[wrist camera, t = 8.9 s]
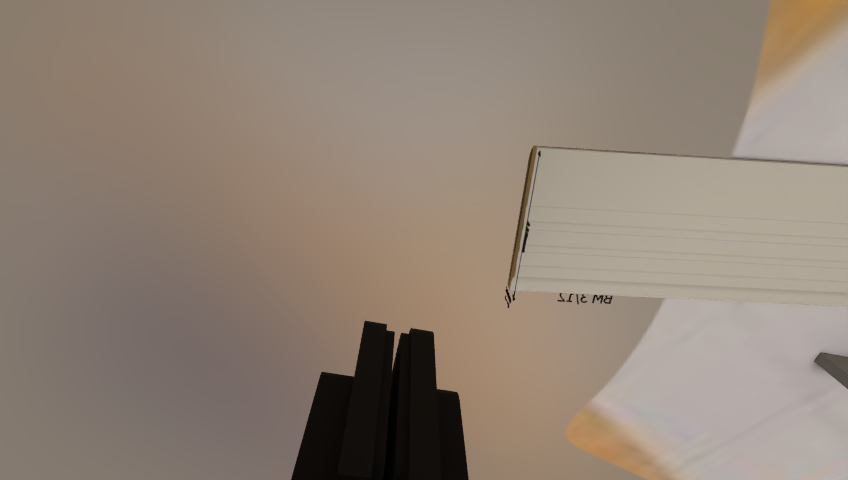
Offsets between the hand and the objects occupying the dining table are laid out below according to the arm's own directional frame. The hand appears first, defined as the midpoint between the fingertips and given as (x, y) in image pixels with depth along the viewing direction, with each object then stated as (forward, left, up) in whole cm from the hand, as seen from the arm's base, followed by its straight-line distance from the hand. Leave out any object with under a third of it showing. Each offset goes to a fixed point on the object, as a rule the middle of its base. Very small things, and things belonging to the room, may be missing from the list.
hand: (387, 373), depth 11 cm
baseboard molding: (+1, +24, -20) cm, 31 cm away
